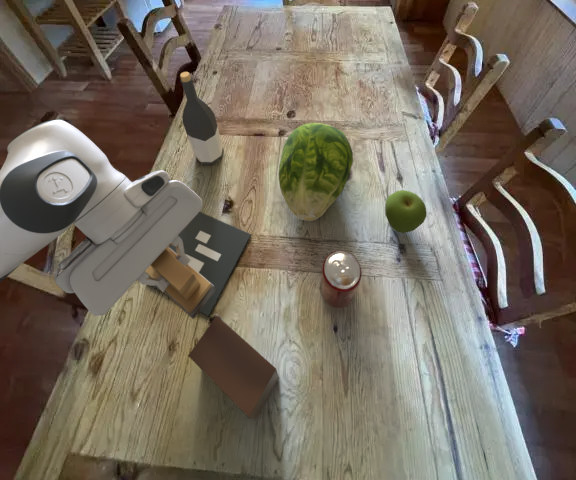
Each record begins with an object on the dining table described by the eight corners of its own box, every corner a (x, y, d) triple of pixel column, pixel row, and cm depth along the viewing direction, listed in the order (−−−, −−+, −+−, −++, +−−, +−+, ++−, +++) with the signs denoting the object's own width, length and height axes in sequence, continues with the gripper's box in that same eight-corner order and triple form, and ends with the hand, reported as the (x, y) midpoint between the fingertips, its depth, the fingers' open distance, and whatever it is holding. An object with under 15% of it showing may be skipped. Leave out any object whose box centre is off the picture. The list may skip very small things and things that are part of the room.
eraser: (193, 319, 53) (180, 305, 47) (147, 276, 58) (130, 259, 52) (216, 289, 56) (206, 272, 50) (171, 250, 61) (157, 231, 55)
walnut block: (256, 420, 57) (248, 417, 50) (201, 366, 63) (187, 355, 55) (279, 378, 61) (276, 368, 54) (226, 330, 67) (216, 315, 59)
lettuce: (254, 210, 76) (325, 201, 66) (269, 120, 89) (330, 101, 79) (301, 231, 87) (368, 226, 77) (308, 148, 100) (366, 135, 90)
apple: (422, 220, 81) (435, 195, 73) (410, 250, 77) (422, 227, 68) (388, 201, 85) (397, 176, 77) (374, 229, 80) (382, 205, 72)
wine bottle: (229, 148, 98) (210, 68, 77) (213, 170, 93) (188, 90, 72) (206, 139, 101) (181, 59, 80) (189, 160, 96) (158, 80, 75)
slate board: (209, 317, 68) (208, 316, 68) (146, 283, 73) (145, 281, 73) (251, 235, 80) (251, 234, 79) (194, 210, 85) (194, 208, 84)
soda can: (316, 302, 70) (318, 283, 61) (324, 266, 75) (327, 244, 66) (351, 314, 68) (358, 296, 60) (357, 277, 73) (364, 255, 65)
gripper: (45, 279, 42) (123, 349, 45) (172, 163, 54) (228, 224, 56) (46, 270, 47) (116, 334, 50) (161, 165, 59) (213, 222, 61)
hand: (176, 275), depth 53 cm, fingers closed on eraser, 3 cm apart
